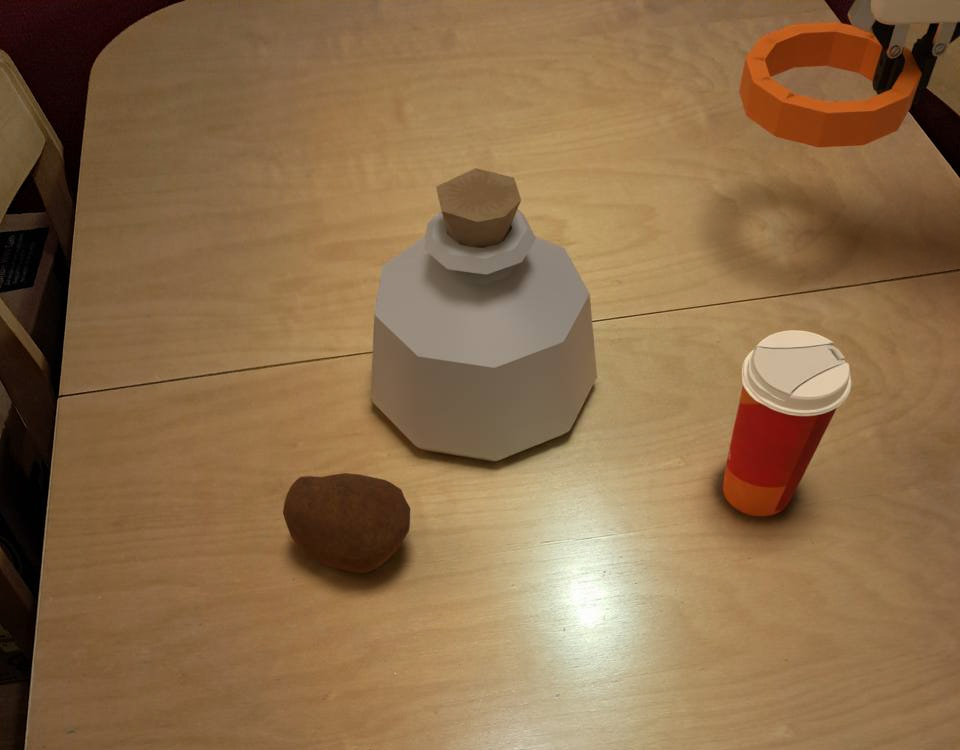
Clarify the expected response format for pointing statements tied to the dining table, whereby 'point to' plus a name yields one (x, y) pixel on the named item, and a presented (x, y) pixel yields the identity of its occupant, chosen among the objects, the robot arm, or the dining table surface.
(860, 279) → the dining table surface
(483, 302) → the bottle
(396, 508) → the potato
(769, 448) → the paper cup
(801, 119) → the ring
